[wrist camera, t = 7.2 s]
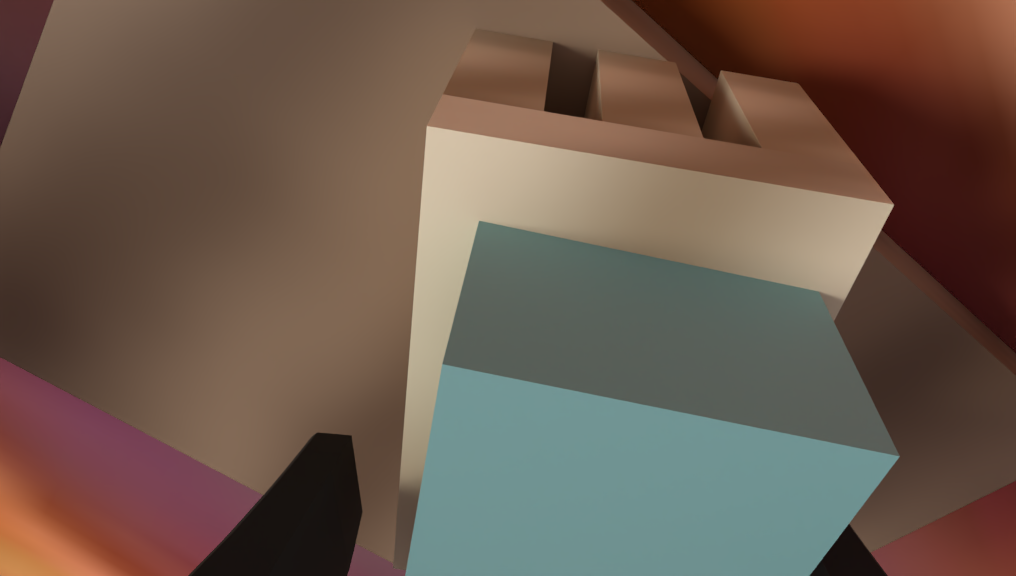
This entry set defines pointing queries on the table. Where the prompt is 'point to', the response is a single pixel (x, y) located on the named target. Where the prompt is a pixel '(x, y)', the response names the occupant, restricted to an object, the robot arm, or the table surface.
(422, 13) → the dock
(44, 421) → the table surface
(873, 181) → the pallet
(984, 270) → the table surface
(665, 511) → the teal block
